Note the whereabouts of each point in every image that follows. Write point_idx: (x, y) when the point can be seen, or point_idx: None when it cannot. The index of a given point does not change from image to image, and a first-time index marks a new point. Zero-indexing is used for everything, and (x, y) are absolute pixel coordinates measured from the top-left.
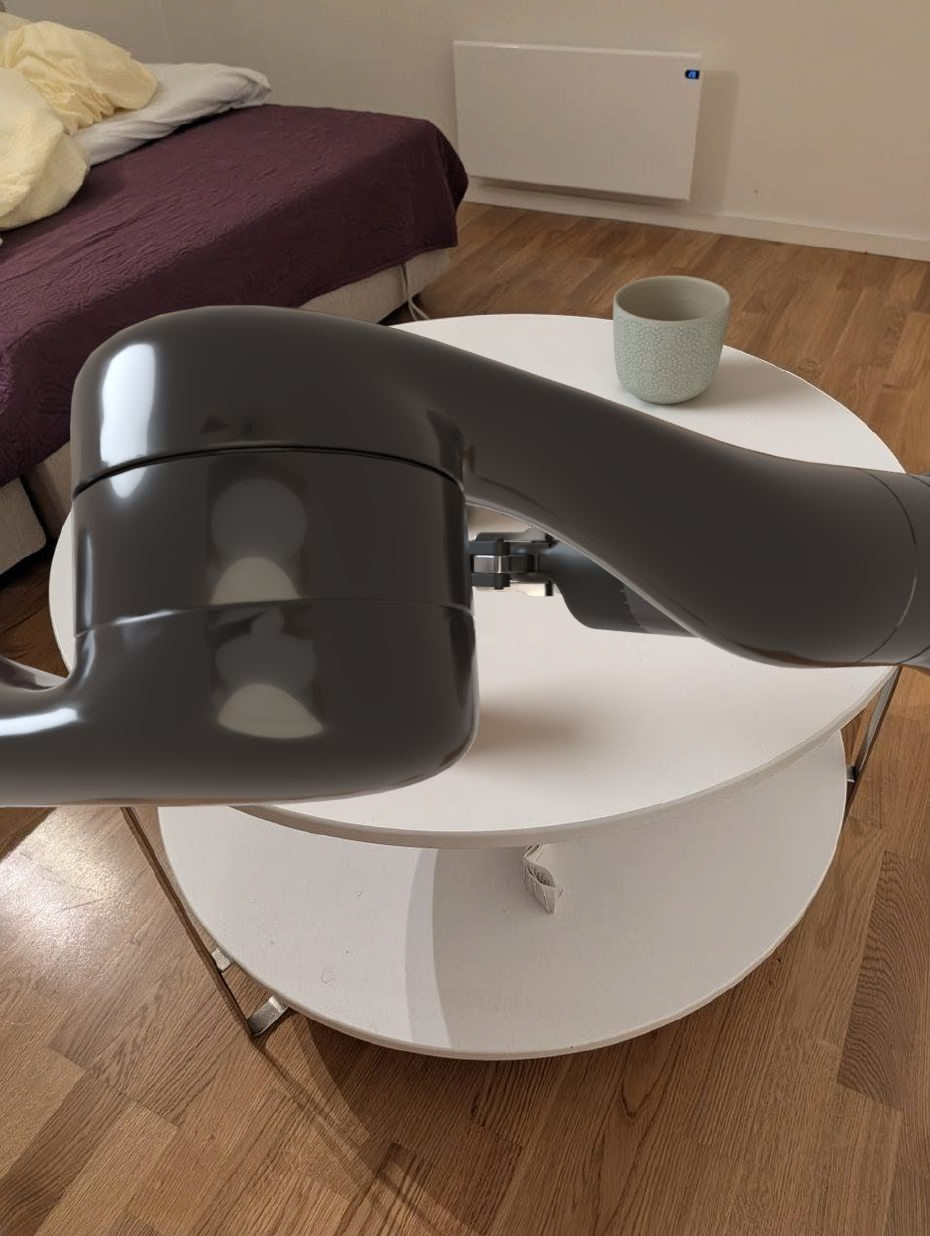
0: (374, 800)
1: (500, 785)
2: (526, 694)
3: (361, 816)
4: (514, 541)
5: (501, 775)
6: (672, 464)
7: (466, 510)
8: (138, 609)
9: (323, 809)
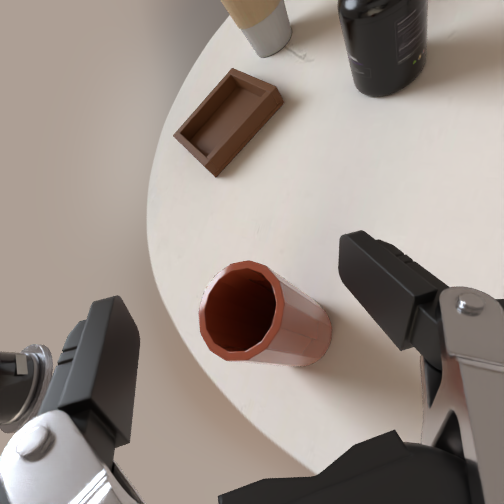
0: (247, 390)
1: (352, 436)
2: None
3: (235, 400)
4: (388, 261)
5: (357, 424)
6: None
7: (420, 67)
8: None
9: (216, 379)
